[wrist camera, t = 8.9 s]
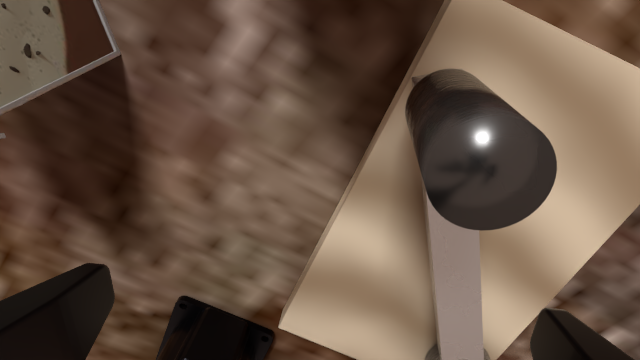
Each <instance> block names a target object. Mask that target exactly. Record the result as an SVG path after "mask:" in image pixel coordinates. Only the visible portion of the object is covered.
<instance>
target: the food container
mask: <svg viewBox="0 0 640 360" xmlns="http://www.w3.org/2000/svg"><path fill="white" fill-rule="evenodd" d="M119 55H121V53H120V51H119V48H118V46H117V43H116V41H115V38H114V36H113V34H112V31H111V29H110V26H109V24H108V22H107V19H106V17H105V14H104V12H103V9H102V7H101V5H100V2H99V0H0V115H2V114H4V113H6V112H8V111H10V110H12V109H14V108H16V107H18V106H20V105H22V104H24V103H26V102H28V101H30V100H32V99H34V98H36V97H38V96H40V95H42V94H44V93H46V92H48V91H50V90H52V89H54V88H56V87H58V86H60V85H62V84H64V83H66V82H68V81H70V80H72V79H74V78H76V77H78V76H80V75H82V74H84V73H86V72H88V71H90V70H92V69H94V68H96V67H98V66H100V65H102V64H104V63H106V62H108V61H110V60H112V59H113V58H115V57H117V56H119ZM1 138H6V136H5V134H4V133H0V139H1Z"/></svg>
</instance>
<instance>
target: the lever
mask: <svg viewBox="0 0 640 360" xmlns="http://www.w3.org/2000/svg"><path fill="white" fill-rule="evenodd" d="M411 80H412V91H411V92H410V94H409V96H408V99H407V102H406V107H405V117H406V122H407V125H408V129H409V132H410V136H411V139H412V143H413V146H414V150H415V153H416V157H417V160H418V164H419V167H420V172H421V182H422V192H423V202H424V213H425V223H426V233H427V243H428V253H429V264H430V274H431V284H432V294H433V304H434V315H435V325H436V335H437V344H435V345H434V346H433V347H432V348H431V349H430V350H429V351H428V352H427V354H426V357H425V360H490V357H489V354H488V352H487V351H486V349H485V348H484V347H483V323H482V296H481V269H480V242H479V230H481V231H485V230H495V229H501V228H504V227H508V226H511V225H513V224H516V223H518V222H520V221H522V220H523V219H525V218H526V217H528V216H529V215H531V214H532V213H533V212H534V211H536V210H537V209H538V208H539V207H540V206H541V205H542V203H543V202H544V201H545V200H546V198H547V197H548V195H549V193H550V192H551V190H552V187H553V185H554V182H555V178H556V173H557V160H556V154H555V151H554V149H553V146H552V144H551V143H550V141H549V139H548V138H547V137H546V136H545V134H544V133H543V132H542V131H540V130H539V129H538V128H537V127H536V126H535V125H533V124H532V123H531V122H530V121H529V120H527V119H526V118H525V117H524V116H522V115H521V114H520V113H519V112H518V111H516V110H515V109H514V108H513V107H512V106H510V105H509V104H508V103H507V102H506V101H504V100H503V99H502V98H501V97H499V96H498V95H497V94H496V93H495V92H493V91H492V90H491V89H490V88H489V87H487V86H486V85H485V84H484V83H483V82H481V81H480V80H479V79H478V78H476V77H475V76H474V75H472V74H471V73H469V72H466V71H464V70H463V69H442V70H438V71H435V72H432V73H430V74H426V75H420V76H414V77H411Z"/></svg>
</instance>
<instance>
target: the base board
mask: <svg viewBox="0 0 640 360" xmlns="http://www.w3.org/2000/svg"><path fill="white" fill-rule="evenodd" d="M442 69H463V70H464V71H466V72H469V73H471V74H472V75H474V76H475V77H476V78H478V79H479V80H480V81H481V82H483V83H484V84H485V85H486V86H487V87H489V88H490V89H491V90H492V91H493V92H495V93H496V94H497V95H498V96H499V97H501V98H502V99H503V100H504V101H506V102H507V103H508V104H509V105H510V106H512V107H513V108H514V109H515V110H516V111H518V112H519V113H520V114H521V115H522V116H524V117H525V118H526V119H527V120H529V121H530V122H531V123H532V124H533V125H535V126H536V127H537V128H538V129H539V130H540V131H542V132H543V133H544V134H545V136H546V137H547V138H548V139H549V141H550V143H551V144H552V146H553V149H554V151H555V154H556V160H557V173H556V178H555V182H554V185H553V187H552V190H551V192H550V193H549V195H548V197H547V198H546V200H545V201H544V202H543V203H542V205H541V206H540V207H539V208H538V209H537V210H536V211H534V212H533V213H532V214H531V215H529V216H528V217H526V218H525V219H523V220H522V221H520V222H518V223H516V224H513V225H511V226H508V227H504V228H501V229H495V230H485V231H481V230H479V242H480V269H481V296H482V323H483V347H484V348H485V349H486V351H487V352H488V354H489V357H490V360H496V359H497V358H498V357H499V356H500V355H501V354H502V353H503V352H504V351H505V350H506V348H507V347H508V346H509V345H510V344H511V343H512V342H513V341H514V340H515V339H516V338H517V337H518V335H519V334H520V333H521V332H522V331H523V330H524V329H525V328H526V327H527V326H528V325H529V324H530V322H531V321H532V320H533V319H534V318H535V317H536V316H537V315H538V314H539V313H540V311H541V310H542V309H543V308H544V307H545V306H546V305H547V304H548V303H549V302H550V301H551V300H552V299H553V298H554V296H555V295H556V294H557V293H558V292H559V291H560V290H561V289H562V288H563V287H564V286H565V285H566V283H567V282H568V281H569V280H570V279H571V278H572V277H573V276H574V275H575V274H576V273H577V272H578V270H579V269H580V268H581V267H582V266H583V265H584V264H585V263H586V262H587V261H588V260H589V259H590V257H591V256H592V255H593V254H594V253H595V252H596V251H597V250H598V249H599V248H600V247H601V246H602V244H603V243H604V242H605V241H606V240H607V239H608V238H609V237H610V236H611V235H612V234H613V233H614V231H615V230H616V229H617V228H618V227H619V226H620V225H621V224H622V223H623V222H624V221H625V220H626V218H627V217H628V216H629V215H630V214H631V213H632V212H633V211H634V210H635V209H636V208H637V207H638V205H639V204H640V68H638V67H636V66H634V65H632V64H630V63H628V62H625V61H623V60H621V59H619V58H617V57H615V56H613V55H611V54H609V53H607V52H605V51H603V50H601V49H599V48H597V47H595V46H593V45H591V44H589V43H587V42H585V41H583V40H581V39H579V38H577V37H575V36H573V35H571V34H569V33H567V32H565V31H563V30H561V29H559V28H557V27H555V26H553V25H551V24H549V23H547V22H545V21H543V20H541V19H538V18H536V17H534V16H532V15H530V14H528V13H526V12H524V11H522V10H520V9H518V8H516V7H514V6H512V5H510V4H508V3H506V2H504V1H502V0H444V2H443V4H442V6H441V8H440V10H439V12H438V14H437V16H436V18H435V20H434V21H433V23H432V25H431V27H430V29H429V31H428V33H427V35H426V37H425V39H424V41H423V42H422V44H421V46H420V48H419V50H418V52H417V54H416V56H415V58H414V60H413V62H412V64H411V65H410V67H409V69H408V71H407V73H406V75H405V77H404V79H403V81H402V83H401V85H400V87H399V88H398V90H397V92H396V94H395V96H394V98H393V100H392V102H391V104H390V106H389V108H388V110H387V111H386V113H385V115H384V117H383V119H382V121H381V123H380V125H379V127H378V129H377V131H376V132H375V134H374V136H373V138H372V140H371V142H370V144H369V146H368V148H367V150H366V152H365V154H364V155H363V157H362V159H361V161H360V163H359V165H358V167H357V169H356V171H355V173H354V175H353V177H352V178H351V180H350V182H349V184H348V186H347V188H346V190H345V192H344V194H343V196H342V198H341V199H340V201H339V203H338V205H337V207H336V209H335V211H334V213H333V215H332V217H331V219H330V221H329V222H328V224H327V226H326V228H325V230H324V232H323V234H322V236H321V238H320V240H319V242H318V244H317V245H316V247H315V249H314V251H313V253H312V255H311V257H310V259H309V261H308V263H307V265H306V267H305V268H304V270H303V272H302V274H301V276H300V278H299V280H298V282H297V284H296V286H295V288H294V289H293V291H292V293H291V295H290V297H289V299H288V301H287V303H286V305H285V307H284V309H283V311H282V315H281V319H280V323H279V326H278V328H280V329H283V330H285V331H288V332H290V333H293V334H295V335H298V336H300V337H303V338H305V339H308V340H310V341H313V342H315V343H318V344H320V345H323V346H325V347H327V348H330V349H332V350H335V351H337V352H340V353H342V354H345V355H347V356H350V357H352V358H355V359H357V360H425V357H426V354H427V352H428V351H429V350H430V349H431V348H432V347H433V346H434V345H435V344H437V335H436V325H435V315H434V304H433V294H432V284H431V274H430V264H429V253H428V243H427V233H426V223H425V213H424V202H423V192H422V182H421V172H420V167H419V164H418V160H417V157H416V153H415V150H414V146H413V143H412V139H411V136H410V132H409V129H408V125H407V122H406V117H405V107H406V102H407V99H408V96H409V94H410V92H411V91H412V80H411V77H414V76H420V75H426V74H430V73H432V72H435V71H438V70H442Z"/></svg>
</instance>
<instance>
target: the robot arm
mask: <svg viewBox="0 0 640 360" xmlns="http://www.w3.org/2000/svg"><path fill="white" fill-rule="evenodd" d="M114 299H115V295H114V289H113V285H112V280H111V275H110V271H109V268H108V267H107V266H106V265H104V264H95V263H86V264H83V265H81V266H79V267H76V268H74V269H72V270H70V271H67V272H65V273H63V274H61V275H58V276H56V277H54V278H51V279H49V280H47V281H45V282H42V283H40V284H38V285H36V286H33V287H31V288H29V289H26V290H24V291H22V292H20V293H17V294H15V295H13V296H11V297H8V298H6V299H4V300H2V301H0V360H85V359H86V357H87V355H88V353H89V352H90V350H91V348H92V346H93V344H94V342H95V340H96V338H97V336H98V334H99V332H100V330H101V328H102V326H103V324H104V322H105V320H106V318H107V316H108V314H109V313H110V311H111V309H112V306H113V304H114ZM183 303H184V304H186V305H184V304H183ZM264 336H267V337H264ZM273 337H274V333H273V332H272V331H271V330H270V329H268V328H265V327H263V326H260V325H258V324H255V323H253V322H250V321H248V320H245V319H243V318H240V317H238V316H235V315H233V314H230V313H228V312H225V311H223V310H220V309H218V308H215V307H213V306H210V305H208V304H205V303H203V302H200V301H198V300H195V299H193V298H190V297H188V296H181V297H179V299H178V300H177V302H176V304H175V307H174V309H173V312H172V315H171V318H170V321H169V324H168V326H167V329H166V332H165V335H164V338H163V341H162V343H161V346H160V349H159V352H158V355H157V358H156V360H263V358H264V356H265V355H266V353H267V351H268V349H269V347H270V345H271V343H272V341H273ZM530 348H531V353H532V357H533V360H634V359H633V358H631V357H630V356H629V355H627V354H626V353H624V352H623V351H622V350H620V349H619V348H617V347H616V346H615V345H613V344H612V343H611V342H609V341H608V340H606V339H605V338H604V337H602V336H601V335H599V334H598V333H597V332H595V331H594V330H593V329H591V328H590V327H588V326H587V325H586V324H584V323H583V322H581V321H580V320H579V319H577V318H576V317H574V316H573V315H572V314H570V313H569V312H567V311H565V310H562V309H552V308H544V309H542V310H541V311H540V313H539V316H538V319H537V321H536V324H535V327H534V330H533V333H532V336H531V341H530Z"/></svg>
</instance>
